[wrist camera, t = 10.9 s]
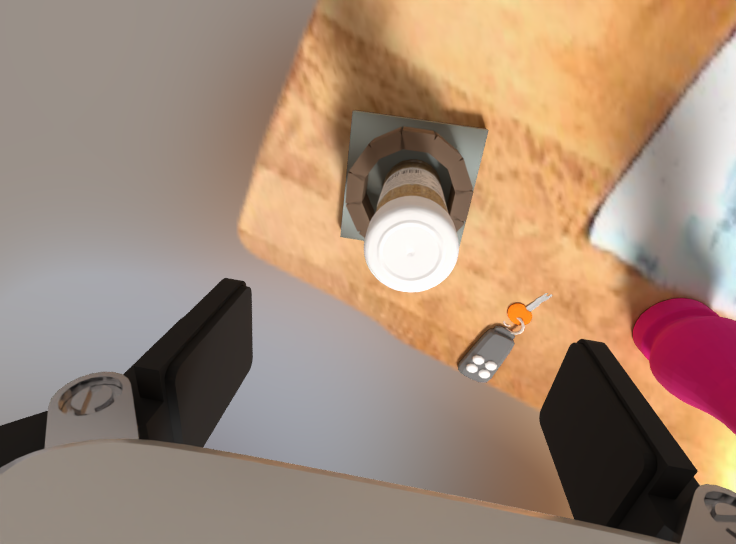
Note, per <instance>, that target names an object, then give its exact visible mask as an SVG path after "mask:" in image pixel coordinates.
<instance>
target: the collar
mask: <svg viewBox="0 0 736 544" xmlns="http://www.w3.org/2000/svg"><path fill="white" fill-rule="evenodd" d="M487 134H488V130H487V129H483V128H476V127H469V126H462V125H455V124H448V123H441V122H434V121H427V120H420V119H413V118H406V117H399V116H392V115H385V114H378V113H371V112H364V111H357V110H354V111H353V114H352V124H351V134H350V144H349V154H348V165H347V175H346V185H345V195H344V205H343V216H342V226H341V236H340V237H344V238H351V239H357V240H363V241H365V236H366V232H367V229H368V226H369V223H370V221H371V219H372V217H373V216H374V214H375V213H376V210H377V203H378V201H379V197H380V194H381V192H382V189H383V184H384V180H385V178H386V175H387V173H388V172H389V171H390V170H391V169H392V167H394V166H395V165H396V164H398V163H400V162H402V161H405V160H410V159H412V160H414V159H417V160H422V161H424V162H426V163H428V164H429V165H431V166H432V167H433V168H434V169H435V170H436V171H437V173H438V175H439V177H440V181H441V188H442V191H443V195H444V199H445V203H446V206H447V210H448V214H449V215H450V217H451V219H452V221H453V223H454V226H455V229H456V233H457V237H458V242H459V246H460V242H461V238H462V234H463V230H464V226H465V222H466V219H467V215H468V211H469V207H470V203H471V199H472V195H473V190H474V186H475V182H476V178H477V174H478V170H479V166H480V162H481V158H482V154H483V150H484V146H485V142H486V138H487Z"/></svg>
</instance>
